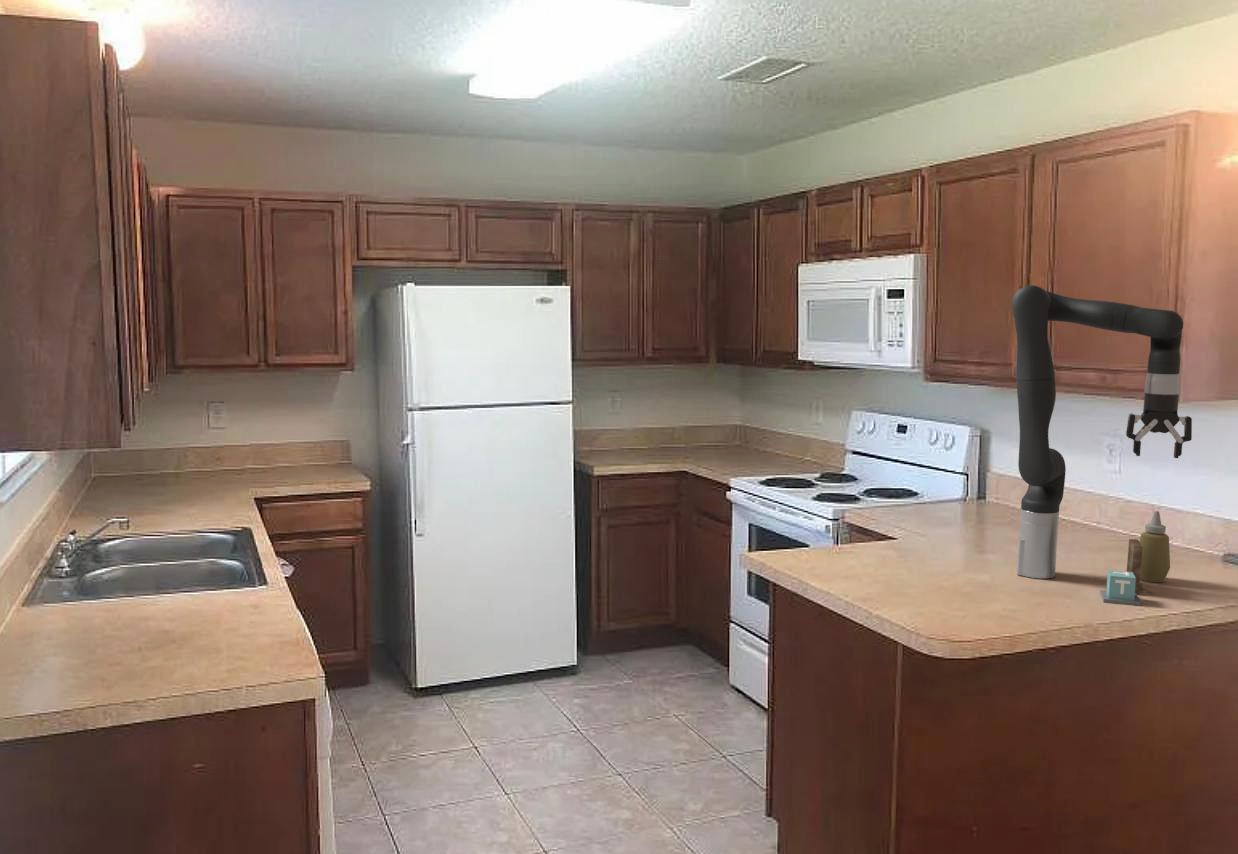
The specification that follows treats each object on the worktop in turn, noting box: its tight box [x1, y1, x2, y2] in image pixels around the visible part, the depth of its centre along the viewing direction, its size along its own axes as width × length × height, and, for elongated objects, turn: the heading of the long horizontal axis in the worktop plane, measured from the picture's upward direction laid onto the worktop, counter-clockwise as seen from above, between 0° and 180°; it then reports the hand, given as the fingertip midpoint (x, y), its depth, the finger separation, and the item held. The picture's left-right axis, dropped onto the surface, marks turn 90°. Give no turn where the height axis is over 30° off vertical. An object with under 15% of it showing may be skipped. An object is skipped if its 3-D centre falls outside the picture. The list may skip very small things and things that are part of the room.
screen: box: [1126, 538, 1147, 596], centre depth 258 cm, size 5×8×12 cm, turn 161°
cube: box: [1105, 569, 1136, 600], centre depth 250 cm, size 6×6×6 cm
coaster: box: [1099, 589, 1142, 607], centre depth 250 cm, size 8×8×1 cm
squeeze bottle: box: [1138, 510, 1171, 583], centre depth 266 cm, size 8×8×18 cm
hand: (1156, 456), depth 257 cm, fingers open, 8 cm apart
